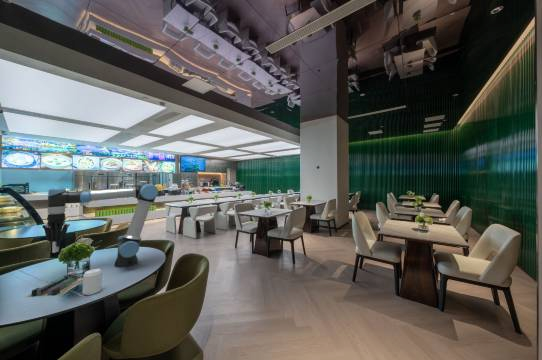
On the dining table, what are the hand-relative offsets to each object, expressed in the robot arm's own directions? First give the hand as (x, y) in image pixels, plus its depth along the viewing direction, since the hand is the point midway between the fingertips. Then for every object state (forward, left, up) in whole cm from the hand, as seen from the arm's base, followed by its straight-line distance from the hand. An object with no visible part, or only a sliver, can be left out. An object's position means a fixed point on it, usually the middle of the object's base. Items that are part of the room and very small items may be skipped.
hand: (55, 251), depth 124 cm
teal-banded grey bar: (-9, +5, -19) cm, 22 cm away
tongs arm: (-5, +5, -19) cm, 20 cm away
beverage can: (-28, +12, -21) cm, 37 cm away
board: (-6, +4, -21) cm, 22 cm away
